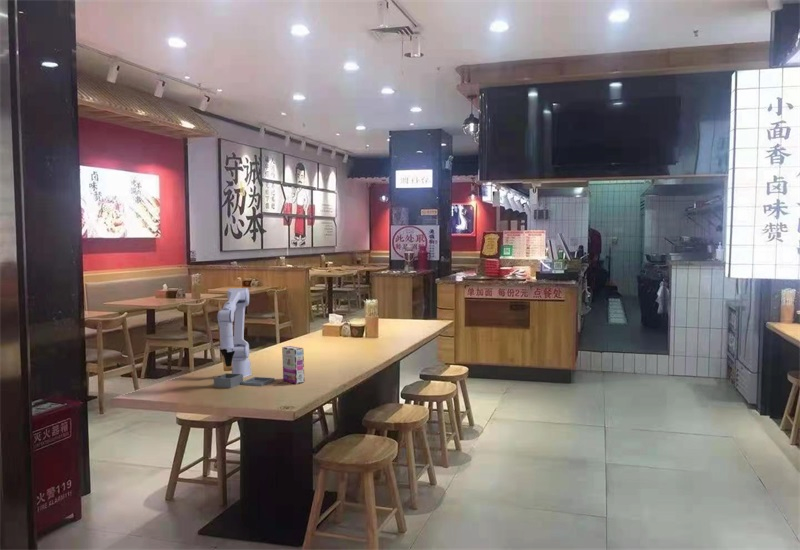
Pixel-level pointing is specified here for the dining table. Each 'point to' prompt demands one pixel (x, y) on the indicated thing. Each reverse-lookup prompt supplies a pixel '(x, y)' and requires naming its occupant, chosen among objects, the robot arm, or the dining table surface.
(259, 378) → the tray
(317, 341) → the dining table surface
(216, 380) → the grey square box
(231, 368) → the dowel
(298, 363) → the candy bar box
